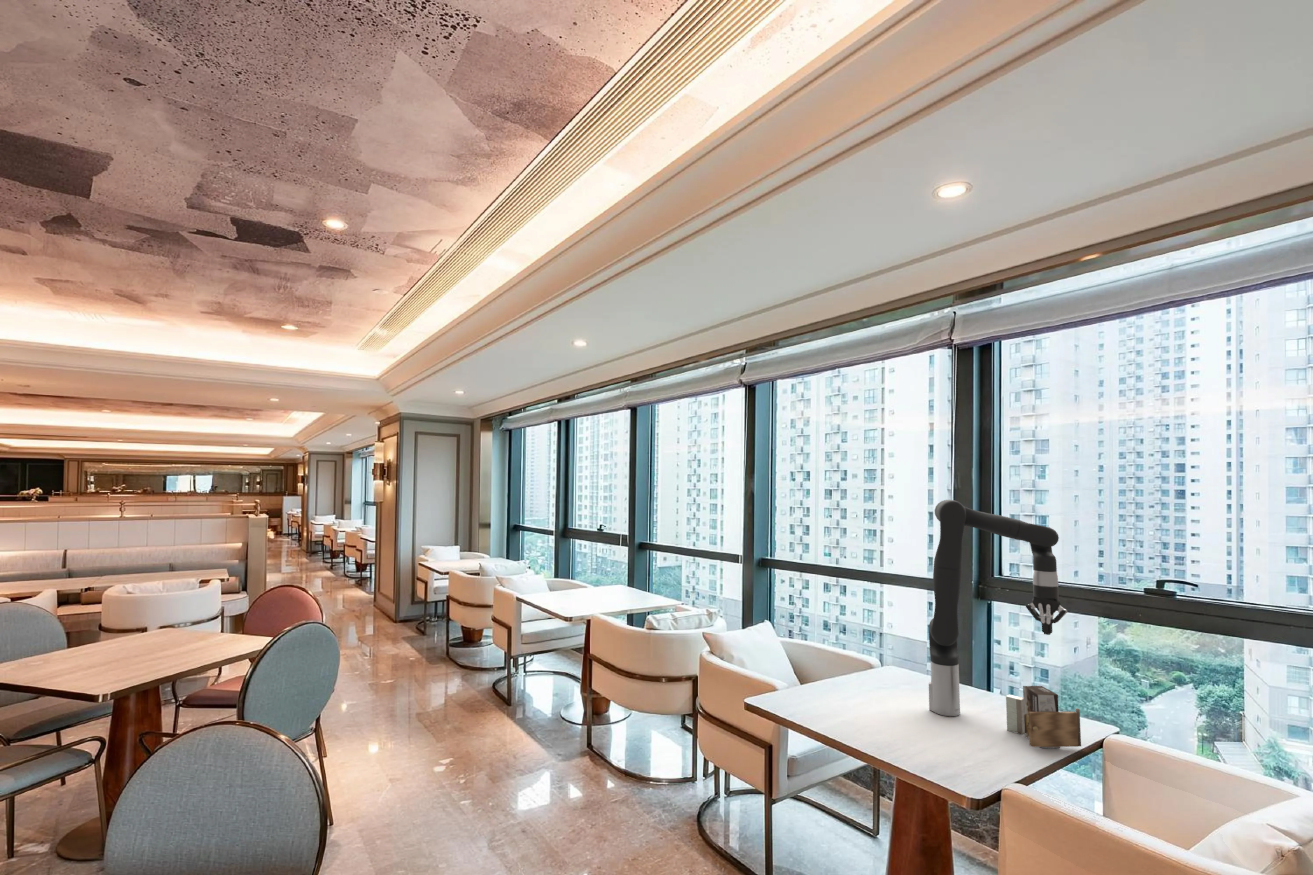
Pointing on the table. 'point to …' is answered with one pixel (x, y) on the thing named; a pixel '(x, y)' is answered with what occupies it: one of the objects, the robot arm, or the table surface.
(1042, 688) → the coffee box
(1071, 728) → the wooden slab
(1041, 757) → the table surface
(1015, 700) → the grey tall block
